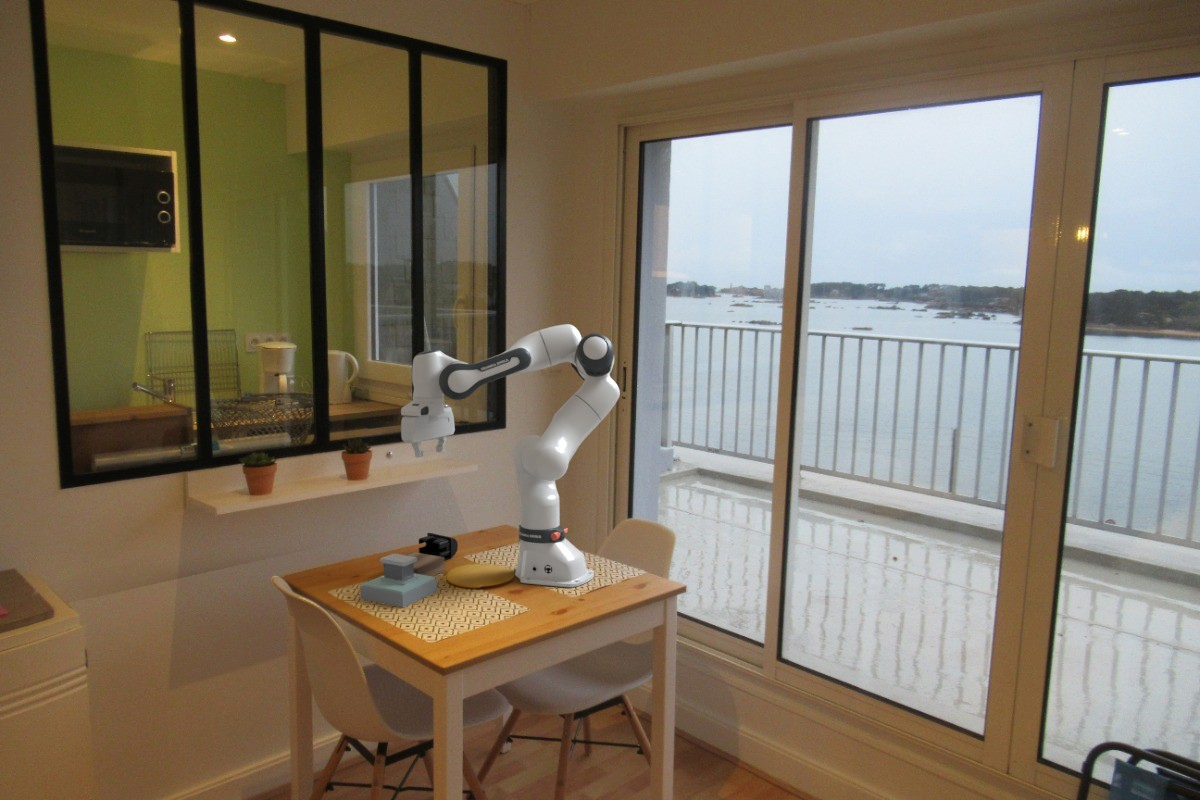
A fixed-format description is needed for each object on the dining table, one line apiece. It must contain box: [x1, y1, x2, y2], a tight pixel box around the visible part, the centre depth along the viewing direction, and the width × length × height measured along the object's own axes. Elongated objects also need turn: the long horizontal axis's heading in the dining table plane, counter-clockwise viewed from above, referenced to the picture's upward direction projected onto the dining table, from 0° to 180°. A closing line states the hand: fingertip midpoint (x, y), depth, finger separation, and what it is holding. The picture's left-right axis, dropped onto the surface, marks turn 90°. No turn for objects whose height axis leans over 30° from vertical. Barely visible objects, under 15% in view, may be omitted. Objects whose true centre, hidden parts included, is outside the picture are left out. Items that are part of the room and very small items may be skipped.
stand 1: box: [382, 551, 446, 577], centre depth 240 cm, size 12×12×4 cm
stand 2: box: [359, 573, 438, 608], centre depth 223 cm, size 14×14×4 cm
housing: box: [379, 552, 418, 585], centre depth 222 cm, size 8×5×6 cm, turn 63°
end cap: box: [418, 532, 459, 562], centre depth 256 cm, size 10×7×7 cm
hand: (429, 454), depth 244 cm, fingers open, 8 cm apart
